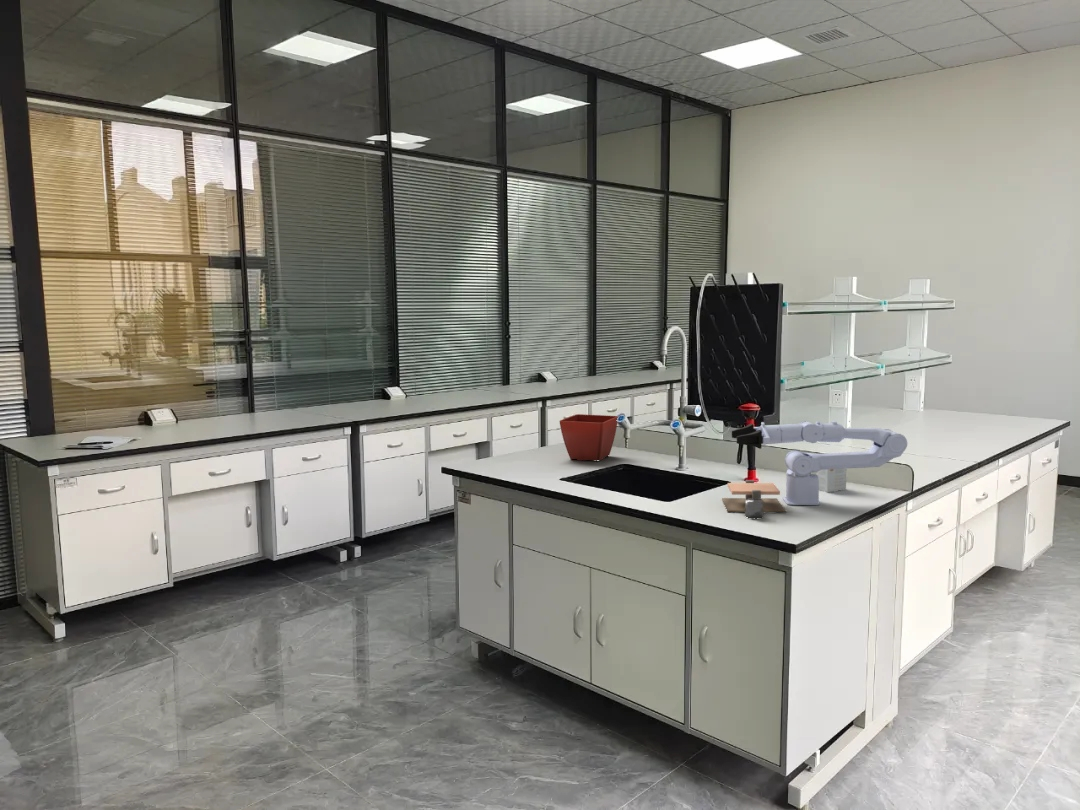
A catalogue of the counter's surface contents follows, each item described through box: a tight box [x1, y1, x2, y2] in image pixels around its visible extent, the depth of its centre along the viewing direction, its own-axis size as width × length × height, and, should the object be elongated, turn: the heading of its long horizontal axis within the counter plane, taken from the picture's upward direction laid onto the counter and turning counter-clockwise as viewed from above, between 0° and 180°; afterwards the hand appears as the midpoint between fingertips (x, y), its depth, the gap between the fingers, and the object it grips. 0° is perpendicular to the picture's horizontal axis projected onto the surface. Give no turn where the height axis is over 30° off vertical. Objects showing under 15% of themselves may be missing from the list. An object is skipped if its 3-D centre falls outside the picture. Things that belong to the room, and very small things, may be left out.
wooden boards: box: [721, 479, 787, 513], centre depth 236 cm, size 17×15×6 cm
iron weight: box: [744, 498, 764, 520], centre depth 224 cm, size 5×5×5 cm
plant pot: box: [559, 413, 619, 461], centre depth 317 cm, size 19×19×17 cm
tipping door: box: [727, 482, 781, 496], centre depth 236 cm, size 14×12×1 cm
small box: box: [815, 469, 847, 493], centre depth 254 cm, size 8×6×10 cm
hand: (734, 437), depth 238 cm, fingers open, 7 cm apart
